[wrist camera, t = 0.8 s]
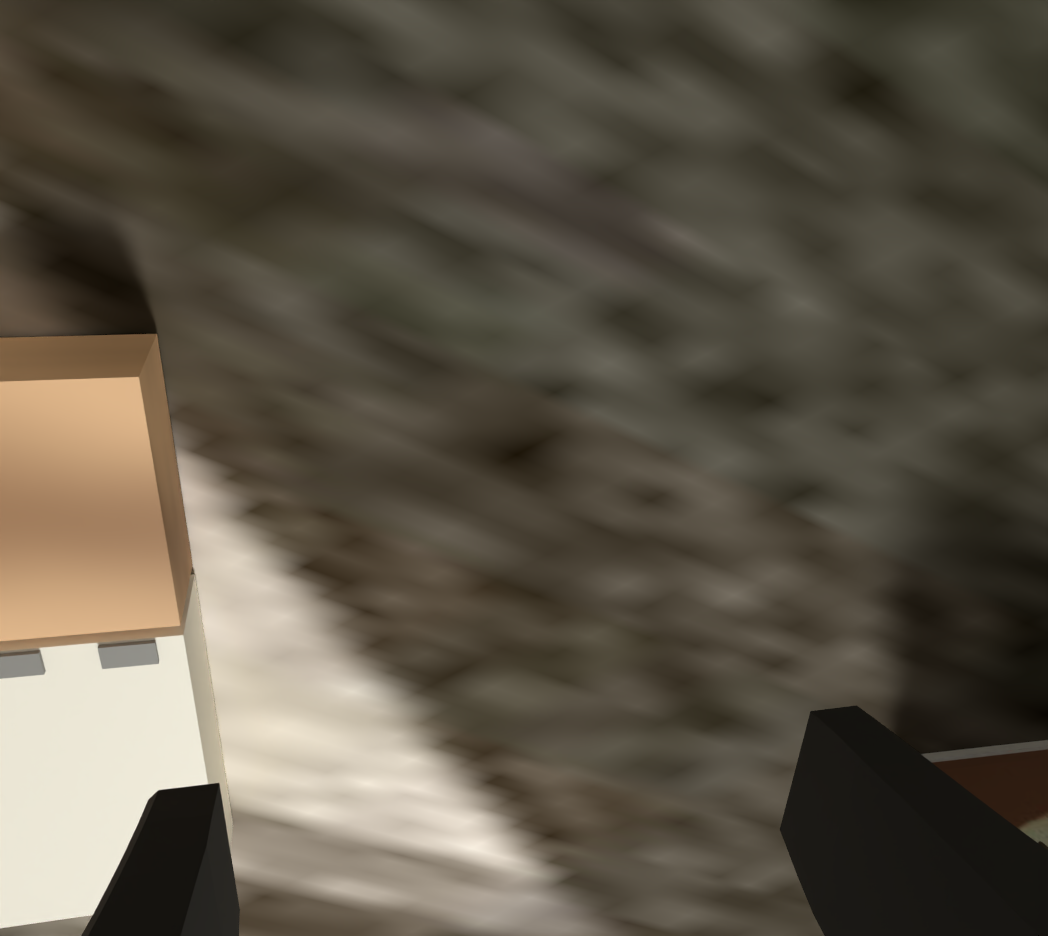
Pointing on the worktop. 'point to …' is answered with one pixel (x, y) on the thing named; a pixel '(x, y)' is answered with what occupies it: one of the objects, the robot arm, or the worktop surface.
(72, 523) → the tan flat block
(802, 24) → the worktop surface
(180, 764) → the board
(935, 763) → the food container
